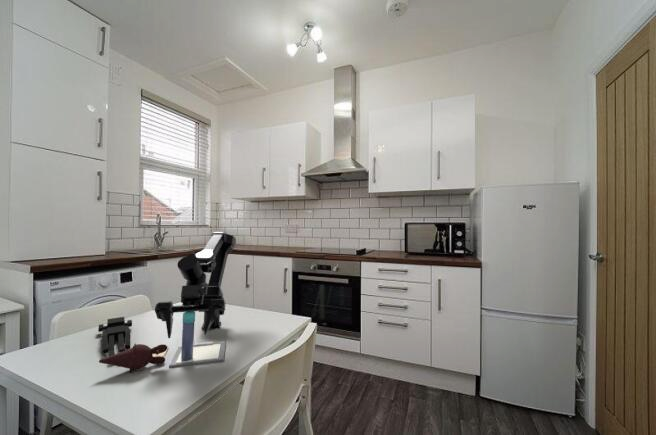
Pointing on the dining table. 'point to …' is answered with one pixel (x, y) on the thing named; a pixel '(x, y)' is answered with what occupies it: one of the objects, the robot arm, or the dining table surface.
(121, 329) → the toy
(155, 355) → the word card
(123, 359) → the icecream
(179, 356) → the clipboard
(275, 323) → the dining table surface
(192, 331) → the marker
